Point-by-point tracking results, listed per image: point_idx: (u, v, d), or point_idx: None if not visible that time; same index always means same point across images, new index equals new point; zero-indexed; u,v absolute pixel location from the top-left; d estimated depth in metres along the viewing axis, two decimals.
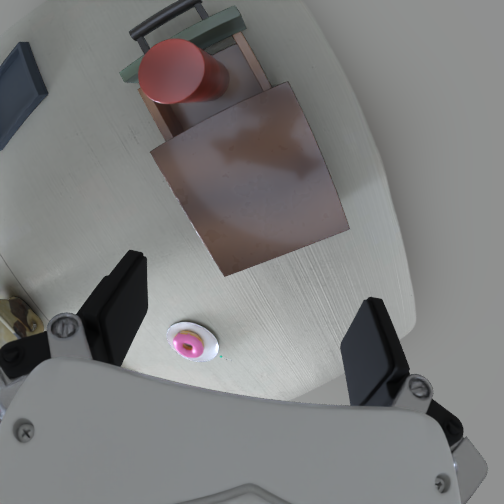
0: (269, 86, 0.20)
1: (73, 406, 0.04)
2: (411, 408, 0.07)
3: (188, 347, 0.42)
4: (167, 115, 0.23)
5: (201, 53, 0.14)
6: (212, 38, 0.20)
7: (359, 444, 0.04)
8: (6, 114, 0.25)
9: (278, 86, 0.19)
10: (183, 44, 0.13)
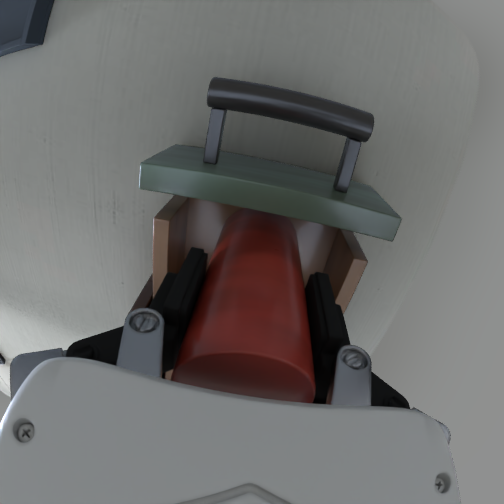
0: None
1: (73, 406, 0.04)
2: (354, 383, 0.07)
3: None
4: (174, 268, 0.15)
5: None
6: None
7: (359, 444, 0.04)
8: None
9: None
10: (302, 385, 0.07)
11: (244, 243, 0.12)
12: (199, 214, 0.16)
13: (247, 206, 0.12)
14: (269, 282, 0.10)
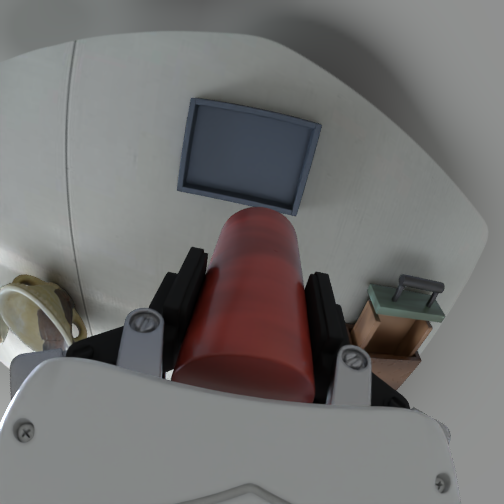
0: (413, 354, 0.36)
1: (73, 406, 0.04)
2: (354, 383, 0.07)
3: None
4: None
5: None
6: None
7: (359, 444, 0.04)
8: (226, 165, 0.30)
9: (417, 361, 0.35)
10: (301, 386, 0.07)
11: (244, 245, 0.12)
12: None
13: (406, 317, 0.32)
14: (269, 283, 0.10)
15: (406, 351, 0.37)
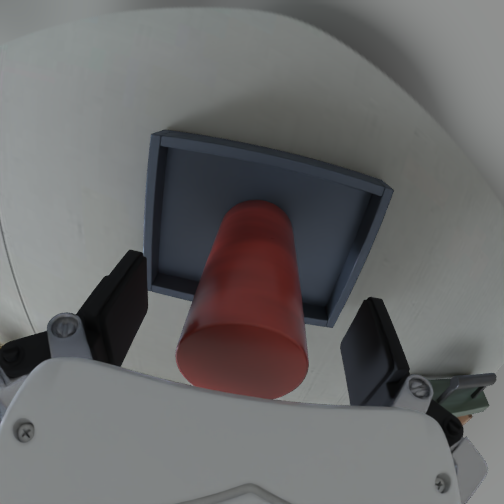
0: None
1: (73, 406, 0.04)
2: (411, 408, 0.07)
3: None
4: None
5: None
6: None
7: (359, 444, 0.04)
8: None
9: None
10: (295, 356, 0.08)
11: (243, 232, 0.13)
12: None
13: None
14: (265, 265, 0.11)
15: None
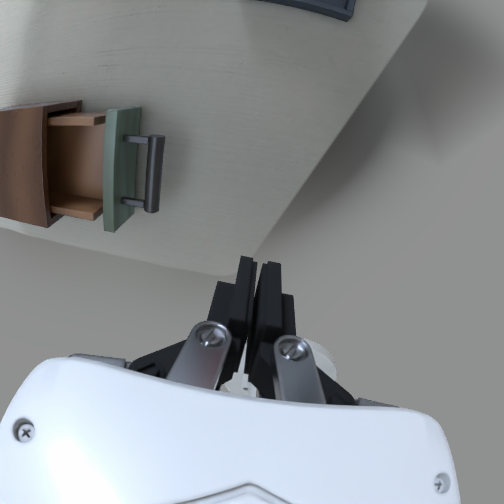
0: (53, 211, 0.25)
1: (73, 406, 0.04)
2: (300, 376, 0.07)
3: None
4: None
5: None
6: None
7: (359, 444, 0.04)
8: None
9: (46, 220, 0.24)
10: None
11: None
12: (103, 127, 0.24)
13: (103, 163, 0.22)
14: None
15: (55, 201, 0.25)
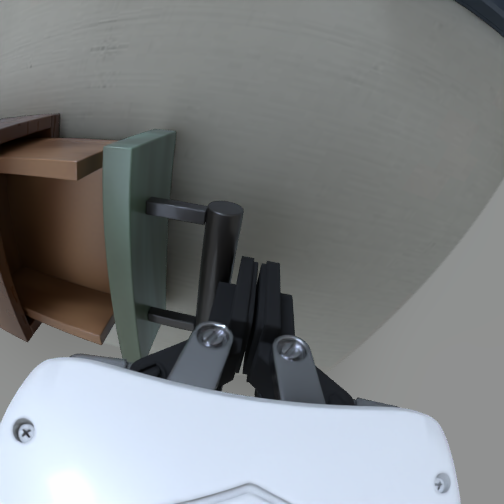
0: (31, 316, 0.13)
1: (73, 406, 0.04)
2: (299, 376, 0.07)
3: None
4: None
5: None
6: None
7: (359, 444, 0.04)
8: None
9: (22, 333, 0.13)
10: None
11: None
12: (100, 170, 0.12)
13: (108, 263, 0.11)
14: None
15: (31, 296, 0.14)
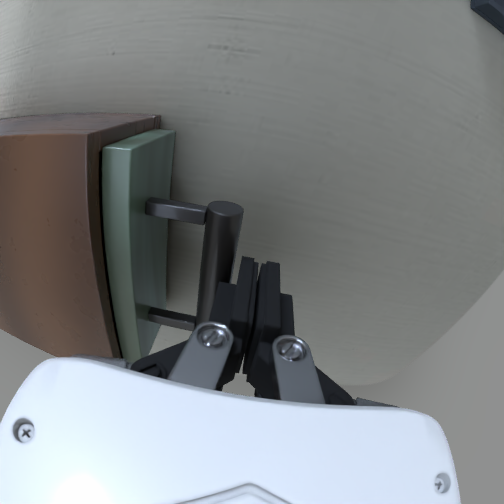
0: None
1: (73, 406, 0.04)
2: (299, 376, 0.07)
3: None
4: None
5: None
6: None
7: (359, 444, 0.04)
8: None
9: None
10: None
11: None
12: (100, 171, 0.12)
13: (108, 264, 0.11)
14: None
15: None
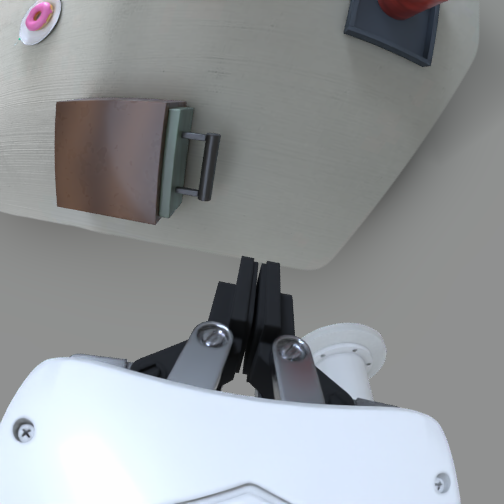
0: None
1: (73, 406, 0.04)
2: (299, 376, 0.07)
3: (37, 14, 0.20)
4: None
5: None
6: None
7: (359, 444, 0.04)
8: None
9: (154, 217, 0.29)
10: None
11: None
12: None
13: (164, 155, 0.26)
14: None
15: None
